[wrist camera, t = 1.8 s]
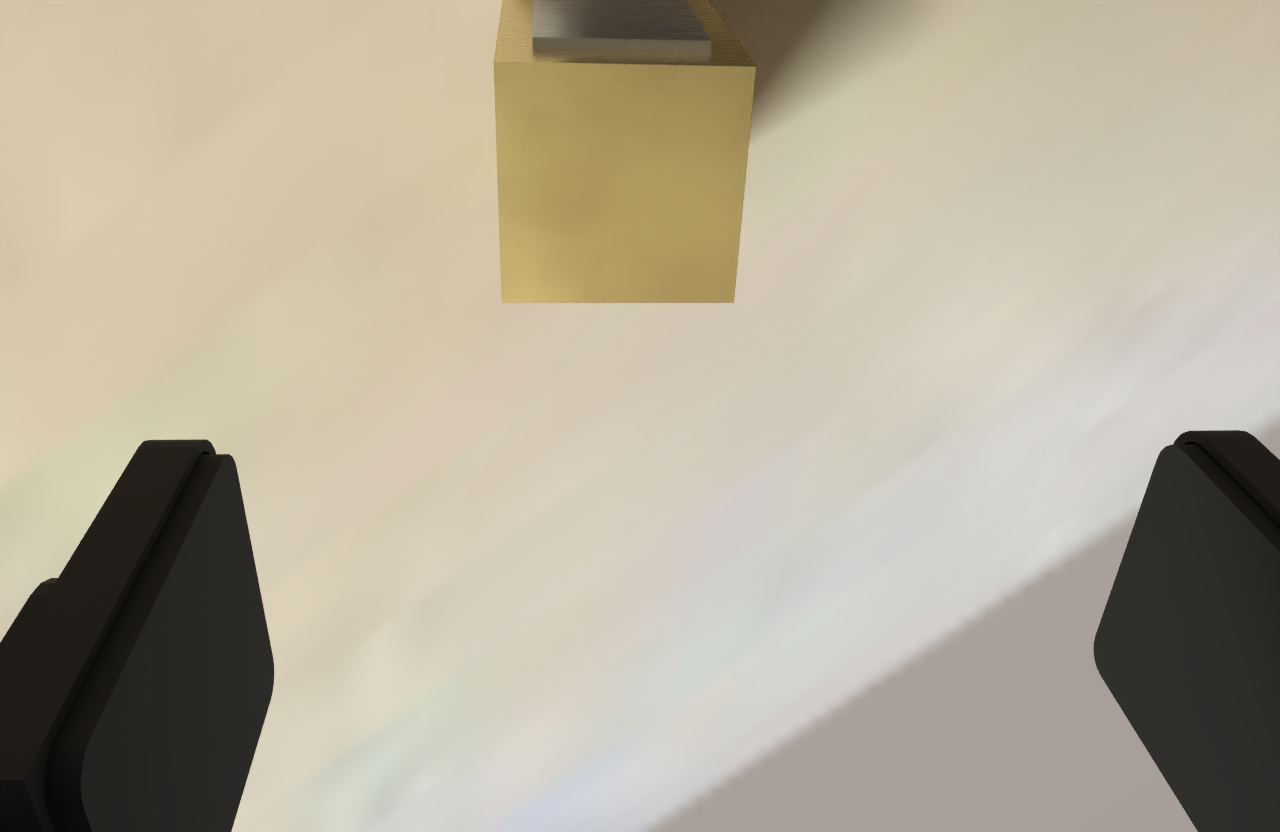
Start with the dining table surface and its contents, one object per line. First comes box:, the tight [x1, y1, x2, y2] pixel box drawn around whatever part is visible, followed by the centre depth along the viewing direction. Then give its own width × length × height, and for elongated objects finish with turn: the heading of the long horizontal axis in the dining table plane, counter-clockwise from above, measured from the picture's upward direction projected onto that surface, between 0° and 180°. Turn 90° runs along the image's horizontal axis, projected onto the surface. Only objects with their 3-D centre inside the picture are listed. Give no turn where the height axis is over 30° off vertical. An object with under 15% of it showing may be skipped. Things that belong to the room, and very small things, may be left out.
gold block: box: [494, 0, 756, 303], centre depth 22 cm, size 5×4×7 cm
